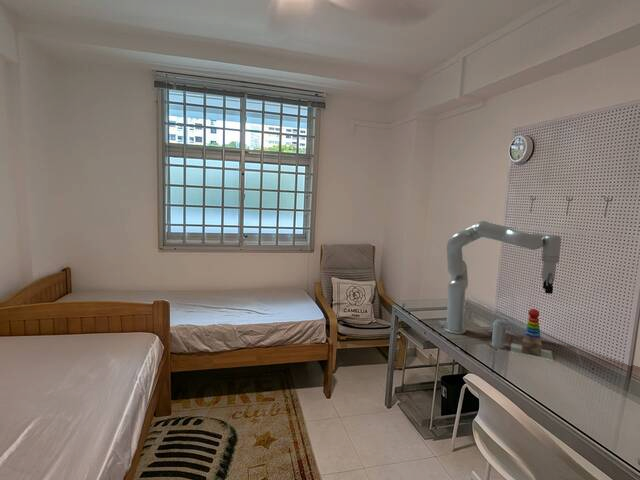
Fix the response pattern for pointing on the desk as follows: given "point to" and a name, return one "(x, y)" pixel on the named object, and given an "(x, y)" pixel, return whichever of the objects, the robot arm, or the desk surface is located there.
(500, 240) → the robot arm
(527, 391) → the desk surface
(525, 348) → the walnut block
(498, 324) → the energy drink can
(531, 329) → the stacking toy
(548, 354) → the base board
